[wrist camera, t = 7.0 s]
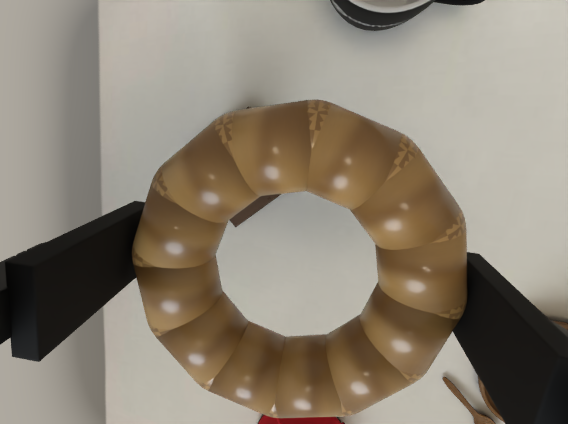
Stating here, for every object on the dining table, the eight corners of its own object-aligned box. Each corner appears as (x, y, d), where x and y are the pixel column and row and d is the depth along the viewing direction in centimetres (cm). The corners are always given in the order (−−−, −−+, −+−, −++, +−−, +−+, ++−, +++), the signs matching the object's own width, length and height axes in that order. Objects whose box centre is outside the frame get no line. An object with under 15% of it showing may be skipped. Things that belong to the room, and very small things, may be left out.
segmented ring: (101, 224, 16) (51, 249, 13) (330, 32, 13) (331, 10, 10) (273, 422, 18) (262, 482, 15) (510, 290, 15) (554, 333, 12)
